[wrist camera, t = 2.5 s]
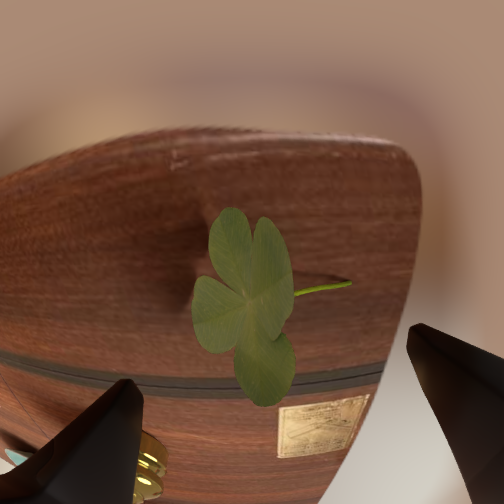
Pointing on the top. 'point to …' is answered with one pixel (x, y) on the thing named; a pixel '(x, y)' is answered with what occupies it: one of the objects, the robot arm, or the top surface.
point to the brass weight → (150, 469)
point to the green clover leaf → (249, 304)
